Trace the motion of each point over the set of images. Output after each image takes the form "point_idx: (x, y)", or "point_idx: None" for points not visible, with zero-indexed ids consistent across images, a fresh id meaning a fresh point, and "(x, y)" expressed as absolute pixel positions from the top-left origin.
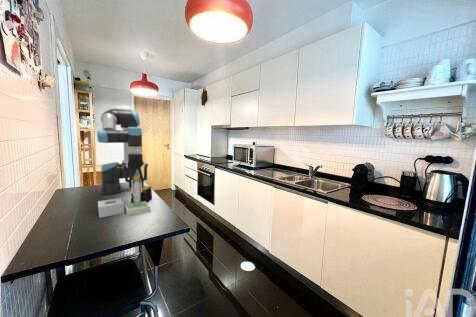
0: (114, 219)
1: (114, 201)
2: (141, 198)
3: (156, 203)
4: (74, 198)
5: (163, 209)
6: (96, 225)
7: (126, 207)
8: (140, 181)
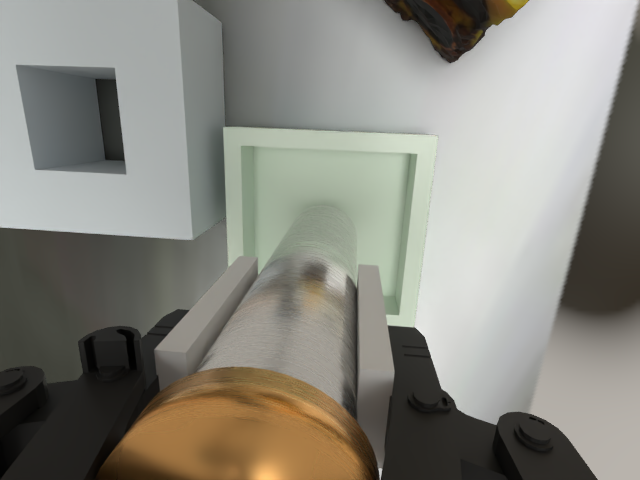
0: (162, 297)
1: (114, 69)
2: (430, 10)
3: (551, 111)
4: None
5: (517, 315)
6: (69, 328)
7: (231, 232)
8: (367, 426)
